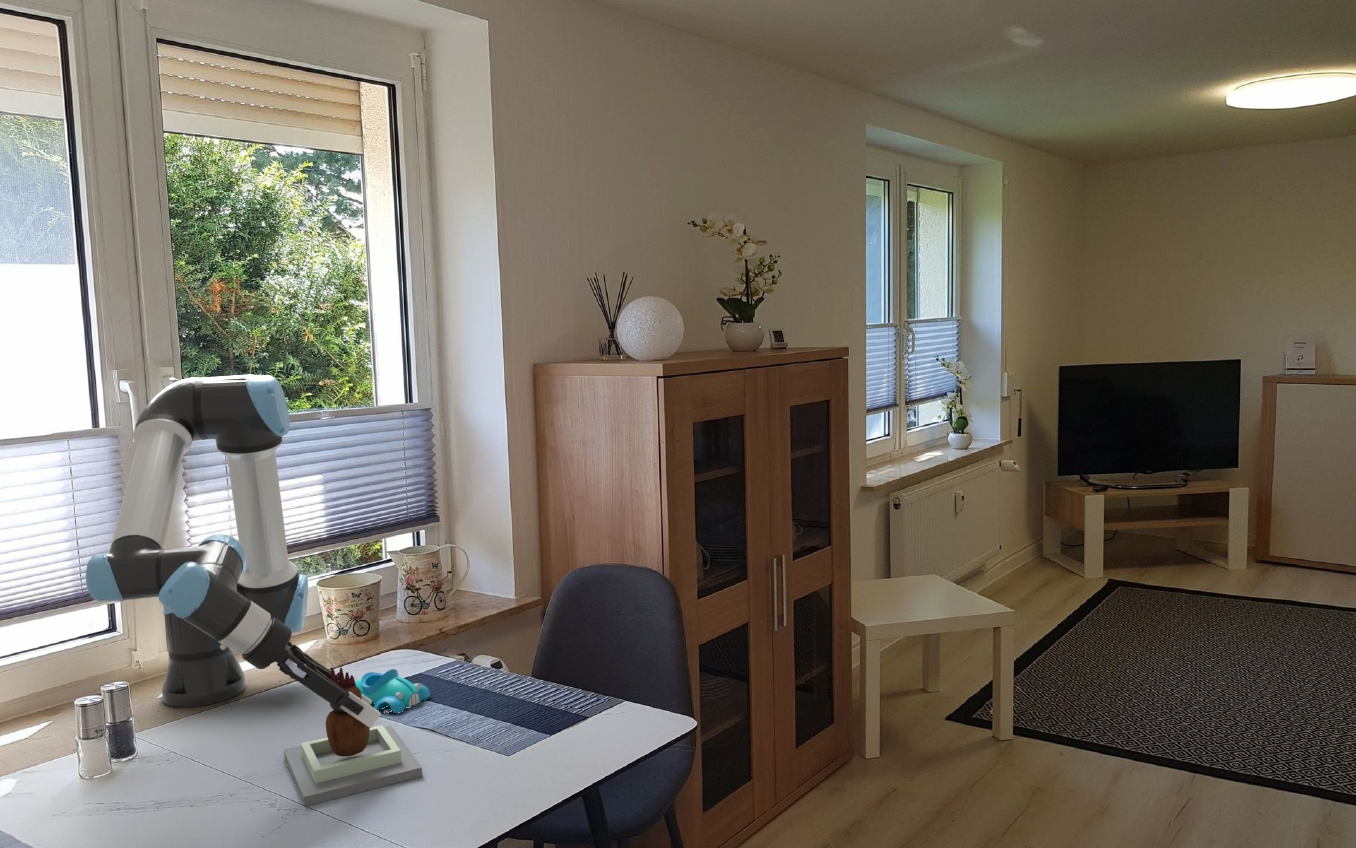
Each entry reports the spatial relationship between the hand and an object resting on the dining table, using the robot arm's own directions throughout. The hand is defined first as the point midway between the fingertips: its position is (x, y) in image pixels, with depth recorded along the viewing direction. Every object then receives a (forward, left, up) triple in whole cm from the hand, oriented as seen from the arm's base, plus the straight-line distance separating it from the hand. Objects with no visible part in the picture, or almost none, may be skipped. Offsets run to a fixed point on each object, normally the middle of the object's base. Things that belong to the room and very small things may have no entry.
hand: (370, 713), depth 167 cm
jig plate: (0, -4, -8) cm, 9 cm away
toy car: (-28, +8, -9) cm, 30 cm away
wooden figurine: (0, -4, -6) cm, 7 cm away
